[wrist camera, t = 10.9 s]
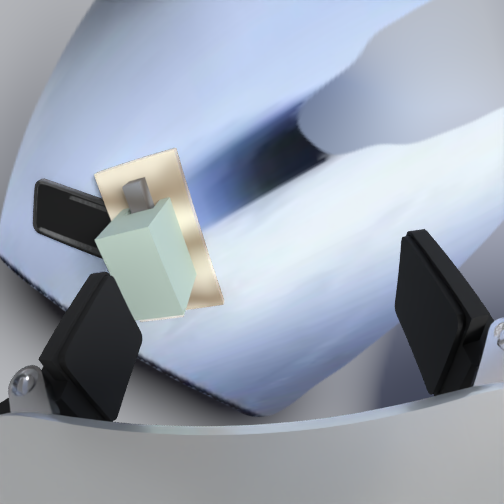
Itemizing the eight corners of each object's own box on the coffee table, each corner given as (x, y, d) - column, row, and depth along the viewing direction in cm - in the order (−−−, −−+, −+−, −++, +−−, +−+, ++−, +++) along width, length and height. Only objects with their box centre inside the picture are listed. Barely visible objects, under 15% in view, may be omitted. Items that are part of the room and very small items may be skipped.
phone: (126, 267, 39) (32, 230, 37) (129, 263, 40) (36, 227, 38) (137, 213, 35) (35, 177, 33) (140, 209, 36) (40, 174, 34)
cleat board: (97, 172, 34) (85, 180, 31) (176, 147, 32) (168, 153, 30) (154, 309, 43) (149, 323, 41) (224, 299, 42) (221, 314, 39)
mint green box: (122, 209, 35) (94, 240, 28) (169, 197, 34) (148, 226, 28) (156, 290, 40) (139, 330, 34) (200, 283, 39) (188, 324, 33)
